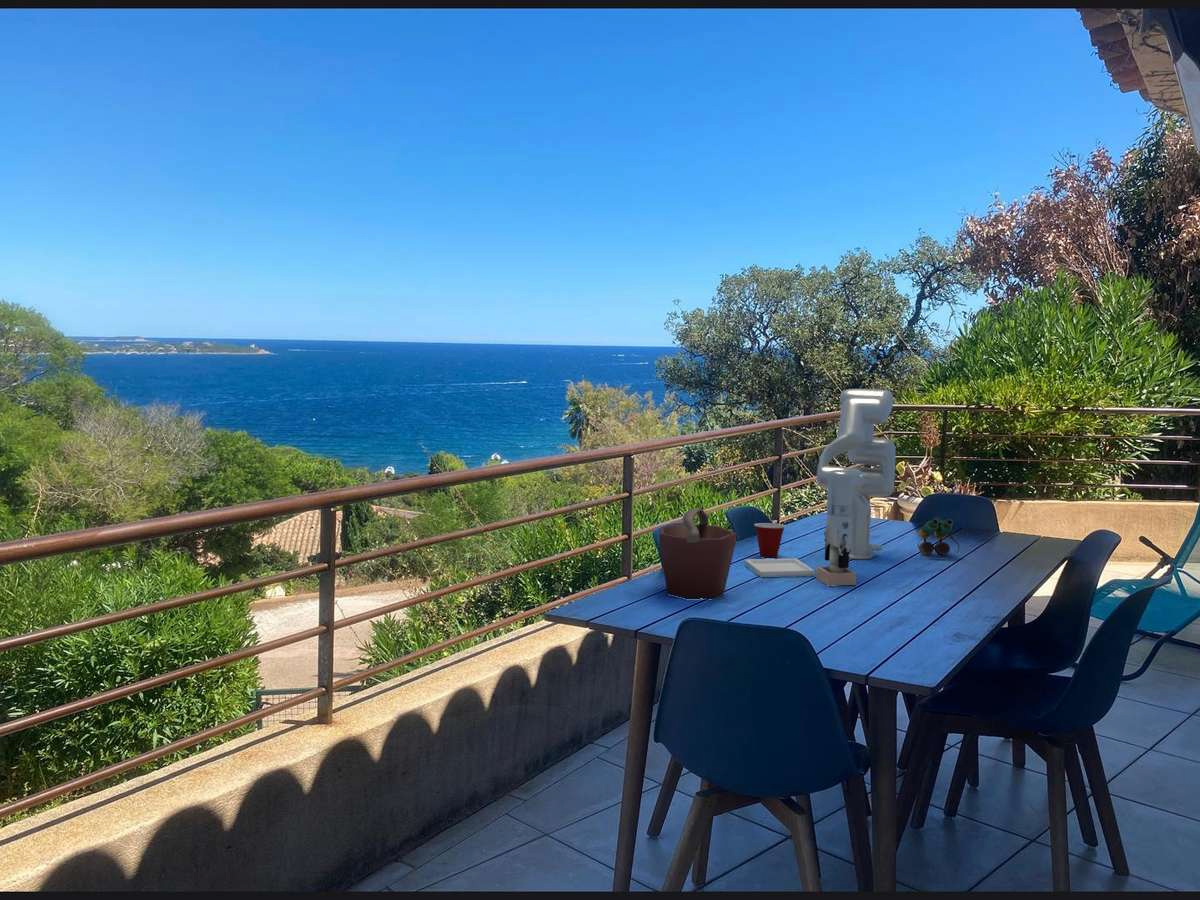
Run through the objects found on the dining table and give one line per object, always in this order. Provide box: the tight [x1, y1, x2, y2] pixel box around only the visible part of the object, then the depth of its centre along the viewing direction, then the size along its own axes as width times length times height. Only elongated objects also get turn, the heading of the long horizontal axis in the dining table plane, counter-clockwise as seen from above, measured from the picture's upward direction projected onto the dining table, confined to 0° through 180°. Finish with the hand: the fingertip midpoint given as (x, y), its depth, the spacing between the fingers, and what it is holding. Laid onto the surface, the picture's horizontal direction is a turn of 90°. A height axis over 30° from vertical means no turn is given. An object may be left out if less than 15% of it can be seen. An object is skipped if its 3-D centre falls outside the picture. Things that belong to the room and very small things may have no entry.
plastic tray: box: [744, 557, 816, 578], centre depth 269 cm, size 18×16×2 cm
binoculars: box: [917, 517, 960, 561], centre depth 290 cm, size 14×14×15 cm
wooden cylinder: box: [828, 544, 844, 573], centre depth 256 cm, size 4×4×12 cm
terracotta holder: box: [815, 565, 857, 586], centre depth 256 cm, size 9×9×4 cm
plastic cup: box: [754, 522, 786, 558], centre depth 287 cm, size 11×11×12 cm
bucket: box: [659, 508, 737, 599], centre depth 241 cm, size 24×22×25 cm
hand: (836, 564), depth 255 cm, fingers open, 9 cm apart
